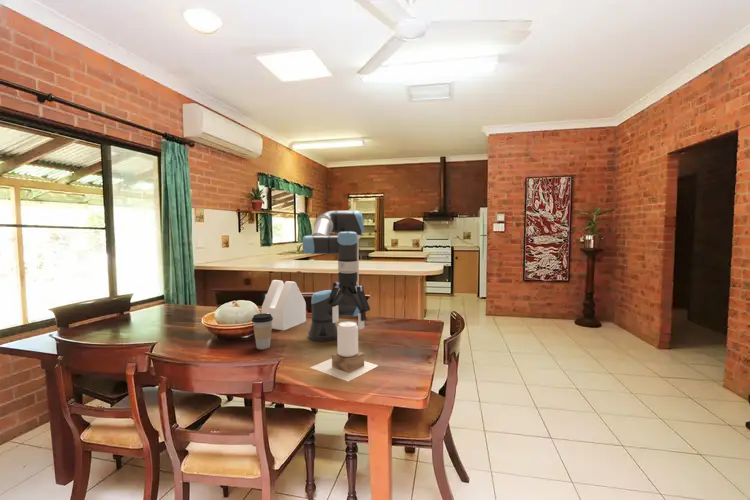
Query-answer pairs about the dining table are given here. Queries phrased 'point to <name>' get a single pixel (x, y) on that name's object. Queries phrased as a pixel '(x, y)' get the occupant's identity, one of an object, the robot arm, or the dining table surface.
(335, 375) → the build board
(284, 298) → the white slotted holder
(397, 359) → the dining table surface
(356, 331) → the beverage can
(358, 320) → the robot arm
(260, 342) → the coffee cup
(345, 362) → the walnut block
